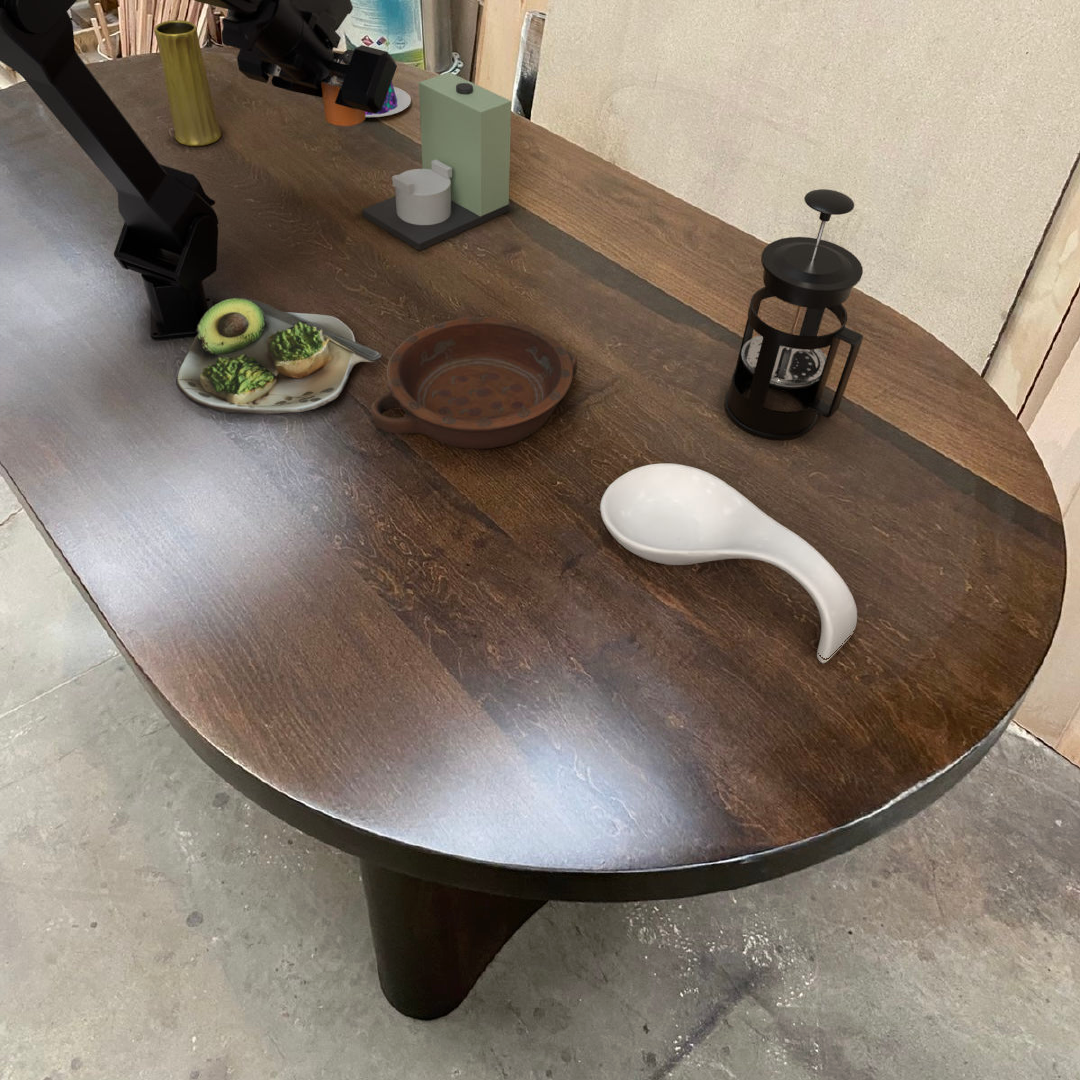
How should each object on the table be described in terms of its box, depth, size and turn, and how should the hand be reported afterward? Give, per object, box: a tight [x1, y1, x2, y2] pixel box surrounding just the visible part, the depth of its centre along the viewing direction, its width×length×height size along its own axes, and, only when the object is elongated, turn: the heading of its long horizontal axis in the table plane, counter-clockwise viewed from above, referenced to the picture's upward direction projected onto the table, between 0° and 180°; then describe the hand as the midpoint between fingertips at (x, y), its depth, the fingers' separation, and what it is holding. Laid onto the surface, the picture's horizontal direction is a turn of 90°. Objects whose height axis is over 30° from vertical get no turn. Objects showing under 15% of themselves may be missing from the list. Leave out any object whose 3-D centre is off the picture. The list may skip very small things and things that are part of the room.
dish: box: [370, 316, 578, 450], centre depth 94 cm, size 18×22×5 cm
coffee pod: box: [321, 76, 367, 127], centre depth 114 cm, size 5×5×5 cm
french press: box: [723, 188, 864, 441], centre depth 89 cm, size 12×9×23 cm
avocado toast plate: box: [175, 297, 382, 415], centre depth 97 cm, size 19×18×5 cm
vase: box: [153, 19, 222, 147], centre depth 129 cm, size 6×6×14 cm
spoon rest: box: [599, 462, 858, 664], centre depth 80 cm, size 24×12×7 cm, turn 48°
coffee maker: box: [361, 72, 512, 252], centre depth 117 cm, size 15×11×15 cm
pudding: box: [365, 81, 412, 118], centre depth 142 cm, size 12×12×5 cm
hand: (350, 100), depth 116 cm, fingers closed on coffee pod, 5 cm apart
